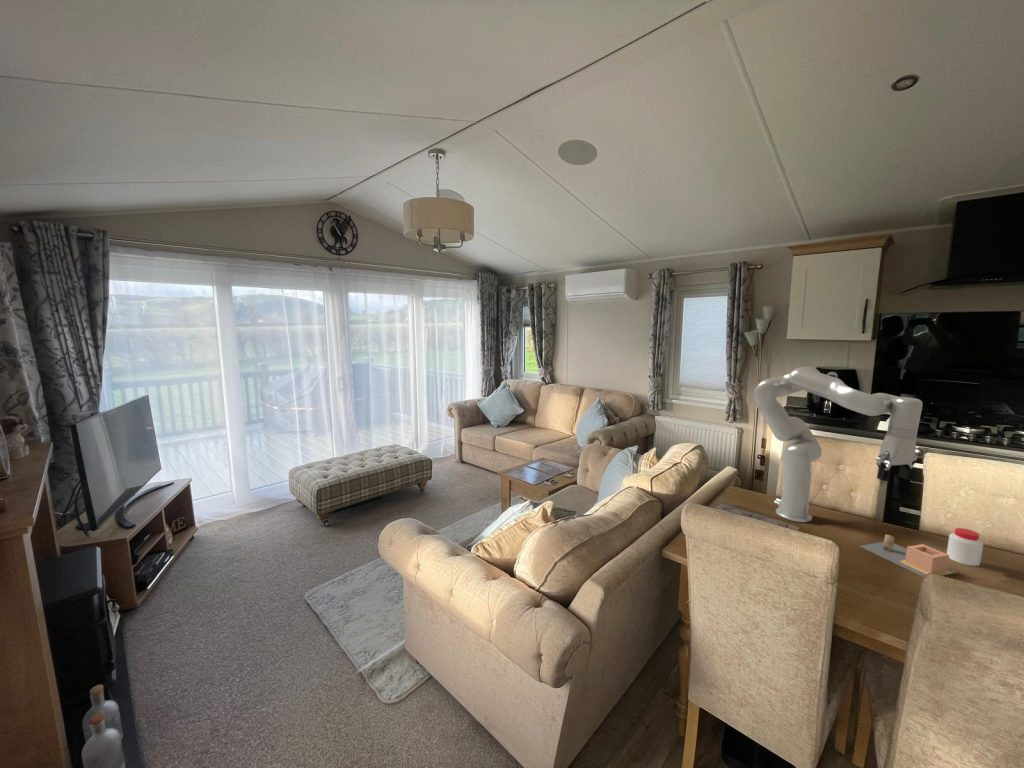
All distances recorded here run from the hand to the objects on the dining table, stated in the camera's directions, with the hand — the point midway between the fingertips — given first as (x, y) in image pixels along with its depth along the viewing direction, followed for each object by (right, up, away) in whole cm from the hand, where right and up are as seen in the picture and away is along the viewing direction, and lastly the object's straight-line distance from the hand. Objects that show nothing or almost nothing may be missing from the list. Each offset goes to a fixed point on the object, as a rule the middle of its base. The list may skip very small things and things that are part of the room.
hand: (893, 479), depth 146 cm
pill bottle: (+17, -27, -7) cm, 32 cm away
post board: (-2, -26, -7) cm, 27 cm away
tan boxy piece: (-1, -26, -12) cm, 28 cm away
